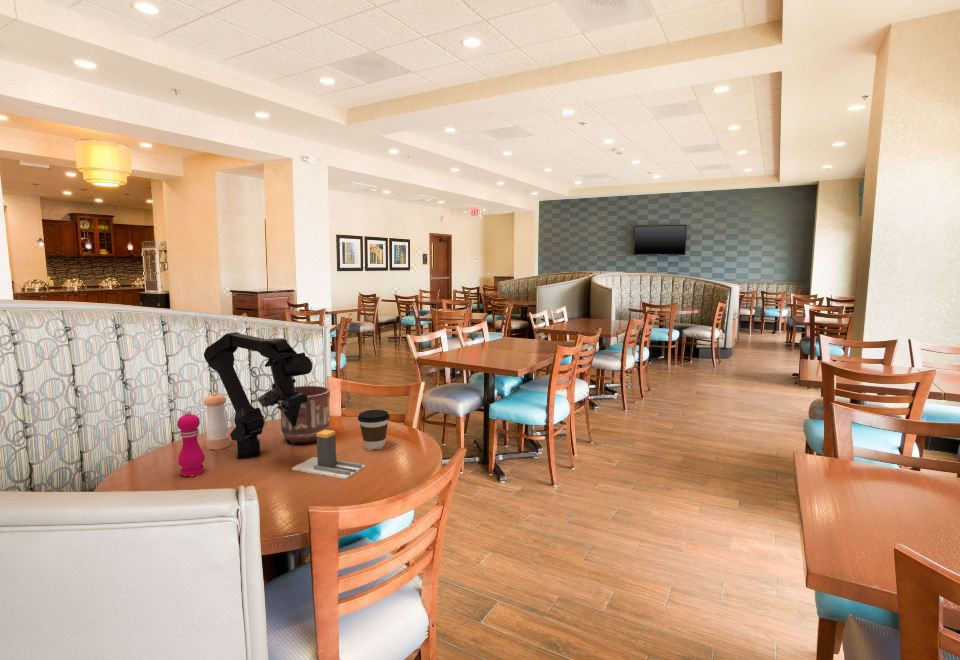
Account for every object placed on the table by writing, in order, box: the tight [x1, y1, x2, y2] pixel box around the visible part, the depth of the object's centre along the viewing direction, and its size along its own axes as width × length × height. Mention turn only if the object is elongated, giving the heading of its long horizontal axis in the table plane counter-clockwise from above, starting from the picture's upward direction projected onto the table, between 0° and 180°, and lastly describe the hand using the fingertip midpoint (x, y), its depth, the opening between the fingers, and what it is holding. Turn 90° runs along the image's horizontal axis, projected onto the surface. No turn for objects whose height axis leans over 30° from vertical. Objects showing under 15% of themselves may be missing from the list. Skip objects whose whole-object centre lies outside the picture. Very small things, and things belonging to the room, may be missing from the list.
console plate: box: [291, 456, 366, 480], centre depth 164 cm, size 20×10×2 cm, turn 68°
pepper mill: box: [176, 409, 206, 476], centre depth 160 cm, size 7×7×20 cm
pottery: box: [279, 385, 331, 445], centre depth 191 cm, size 18×18×18 cm
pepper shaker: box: [203, 392, 231, 451], centre depth 184 cm, size 7×7×19 cm
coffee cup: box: [357, 409, 391, 451], centre depth 182 cm, size 11×11×12 cm
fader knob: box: [316, 429, 337, 468], centre depth 163 cm, size 4×4×11 cm
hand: (293, 425), depth 167 cm, fingers closed
